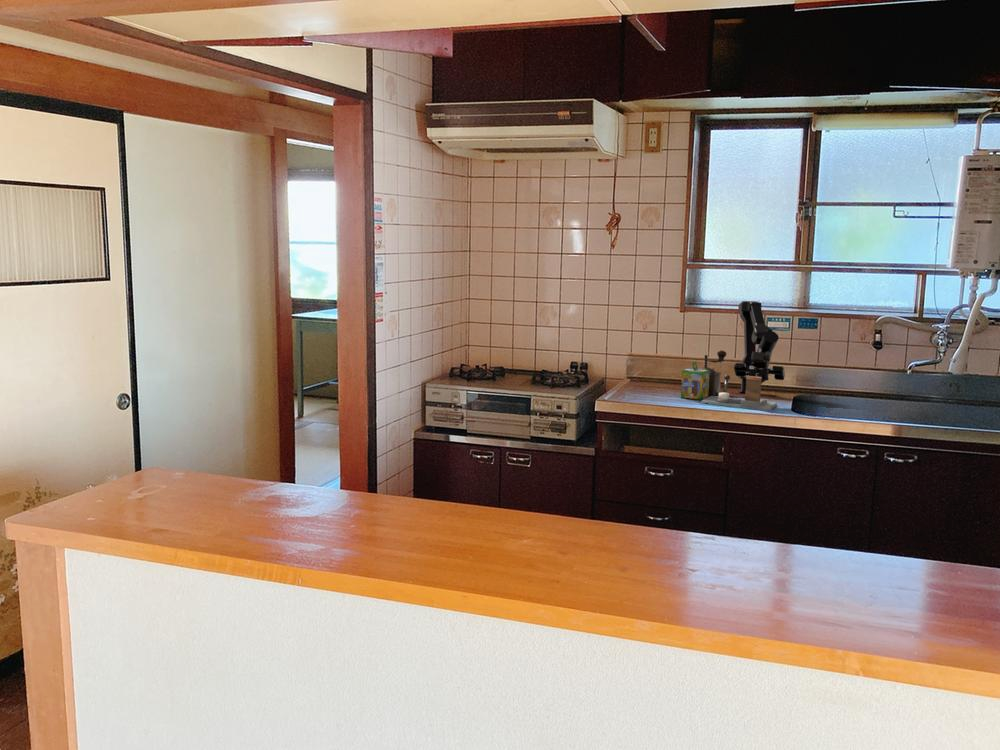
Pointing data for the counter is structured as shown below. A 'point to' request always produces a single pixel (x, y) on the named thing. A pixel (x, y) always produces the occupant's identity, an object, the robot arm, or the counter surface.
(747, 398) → the brown tall rectangular block
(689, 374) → the chalk box
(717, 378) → the grey knobbed device
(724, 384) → the dark gray metallic lever
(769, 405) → the control board
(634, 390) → the counter surface
